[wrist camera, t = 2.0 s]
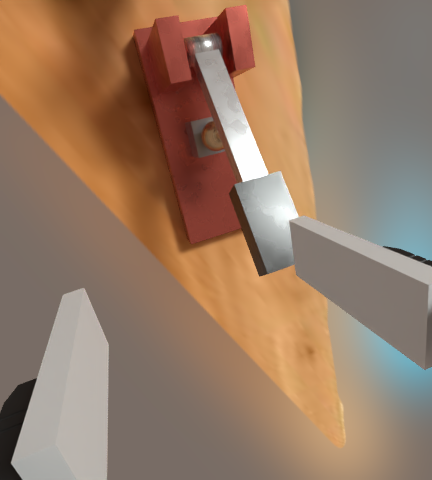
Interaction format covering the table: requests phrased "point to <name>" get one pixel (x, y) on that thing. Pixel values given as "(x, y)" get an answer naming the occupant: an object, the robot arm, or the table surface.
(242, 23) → the nutcracker base
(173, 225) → the table surface
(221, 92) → the nutcracker lever
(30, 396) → the robot arm
